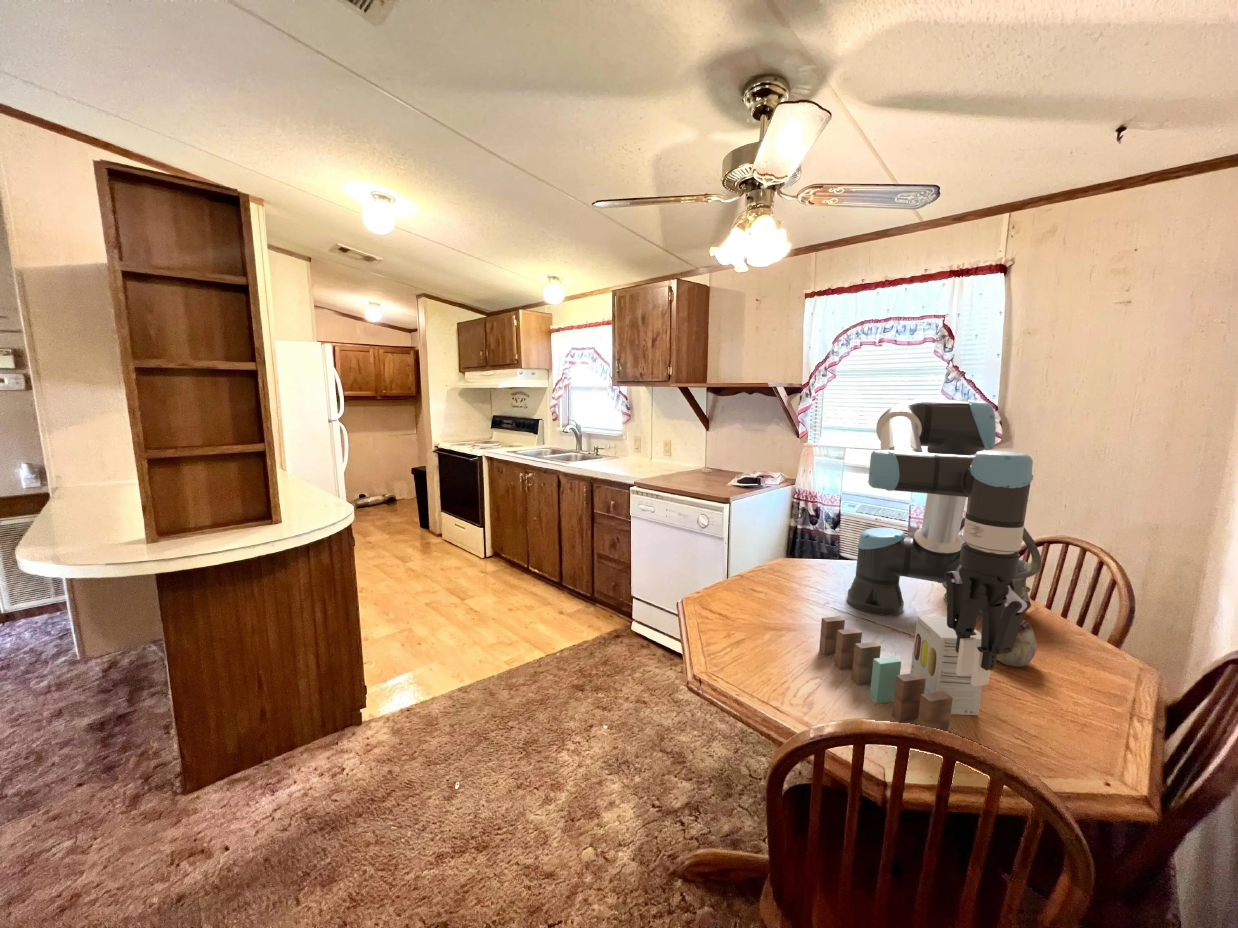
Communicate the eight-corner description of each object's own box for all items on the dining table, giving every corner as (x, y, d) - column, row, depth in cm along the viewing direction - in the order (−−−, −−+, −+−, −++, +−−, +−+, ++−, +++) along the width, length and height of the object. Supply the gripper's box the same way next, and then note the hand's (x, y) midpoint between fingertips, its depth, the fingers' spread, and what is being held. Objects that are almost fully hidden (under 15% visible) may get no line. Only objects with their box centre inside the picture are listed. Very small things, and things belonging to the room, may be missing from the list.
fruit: (1019, 677, 109) (1027, 628, 107) (973, 656, 117) (980, 611, 115) (1041, 665, 114) (1049, 618, 112) (995, 646, 122) (1002, 602, 120)
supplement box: (907, 684, 106) (915, 614, 103) (950, 686, 105) (959, 615, 103) (932, 714, 97) (941, 637, 94) (979, 716, 96) (991, 639, 93)
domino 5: (937, 733, 91) (943, 690, 90) (946, 741, 89) (952, 697, 88) (915, 737, 90) (920, 694, 89) (924, 745, 88) (929, 701, 87)
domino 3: (870, 677, 109) (874, 641, 107) (877, 682, 107) (881, 645, 105) (851, 680, 108) (855, 643, 106) (857, 685, 106) (861, 648, 104)
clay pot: (966, 586, 159) (978, 498, 154) (1049, 617, 137) (1066, 517, 132) (919, 596, 151) (929, 504, 146) (999, 631, 129) (1014, 524, 124)
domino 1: (836, 649, 120) (839, 615, 119) (841, 653, 118) (845, 619, 117) (819, 651, 119) (821, 617, 118) (824, 655, 117) (826, 621, 116)
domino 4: (912, 712, 97) (917, 672, 96) (920, 719, 95) (925, 678, 94) (891, 715, 96) (896, 675, 95) (899, 722, 94) (904, 681, 93)
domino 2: (852, 662, 114) (856, 627, 113) (858, 667, 113) (862, 632, 111) (834, 665, 113) (837, 629, 112) (839, 669, 112) (843, 634, 110)
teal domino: (889, 694, 103) (894, 655, 101) (897, 700, 101) (901, 661, 99) (869, 697, 102) (873, 658, 100) (876, 703, 100) (880, 663, 98)
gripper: (931, 533, 84) (916, 656, 88) (1019, 565, 69) (996, 711, 73) (966, 531, 86) (950, 651, 89) (1059, 561, 71) (1036, 704, 75)
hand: (971, 678), depth 81 cm, fingers open, 2 cm apart
